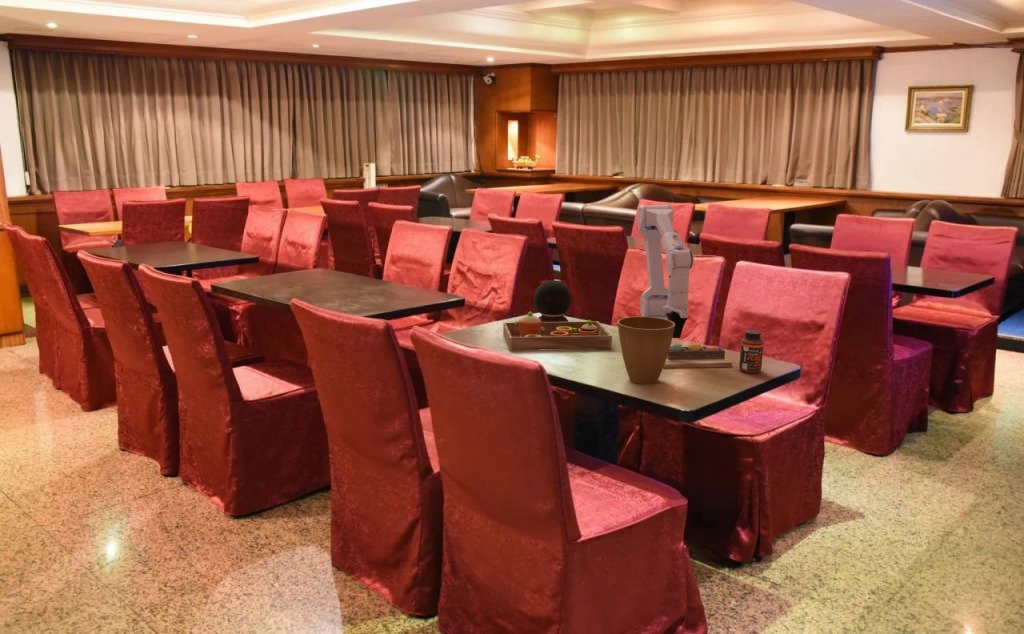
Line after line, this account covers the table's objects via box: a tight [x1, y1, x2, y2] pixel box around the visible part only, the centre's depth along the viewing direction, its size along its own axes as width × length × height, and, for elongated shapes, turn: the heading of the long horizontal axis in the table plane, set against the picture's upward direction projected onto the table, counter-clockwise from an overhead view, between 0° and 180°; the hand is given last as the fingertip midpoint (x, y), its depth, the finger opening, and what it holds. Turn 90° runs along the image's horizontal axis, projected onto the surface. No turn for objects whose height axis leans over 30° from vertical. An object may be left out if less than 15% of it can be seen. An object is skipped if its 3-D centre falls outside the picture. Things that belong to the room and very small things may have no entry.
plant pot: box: [617, 315, 675, 385], centre depth 223 cm, size 15×15×16 cm
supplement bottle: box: [739, 329, 764, 374], centre depth 233 cm, size 6×6×11 cm
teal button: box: [669, 342, 683, 351], centre depth 243 cm, size 4×4×2 cm
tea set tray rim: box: [502, 320, 613, 352], centre depth 267 cm, size 22×32×4 cm
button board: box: [663, 345, 733, 369], centre depth 244 cm, size 14×20×4 cm
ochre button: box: [687, 342, 701, 351], centre depth 244 cm, size 4×4×2 cm
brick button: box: [706, 345, 720, 351], centre depth 245 cm, size 4×4×2 cm
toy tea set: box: [514, 311, 597, 337], centre depth 266 cm, size 26×16×10 cm, turn 107°
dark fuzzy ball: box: [533, 279, 573, 322], centre depth 293 cm, size 13×13×15 cm
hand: (676, 337), depth 243 cm, fingers closed
